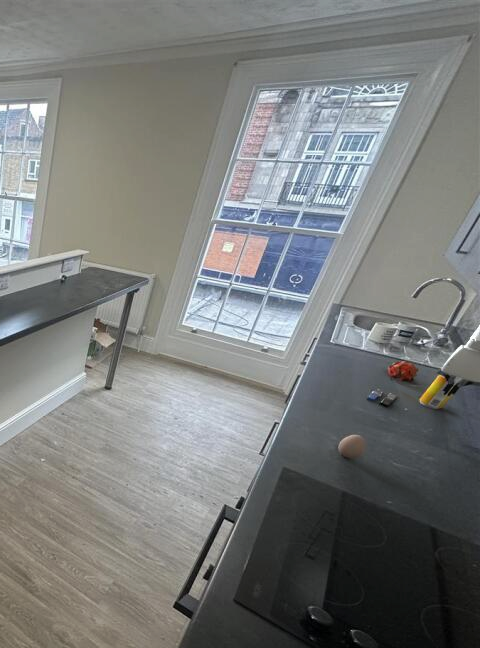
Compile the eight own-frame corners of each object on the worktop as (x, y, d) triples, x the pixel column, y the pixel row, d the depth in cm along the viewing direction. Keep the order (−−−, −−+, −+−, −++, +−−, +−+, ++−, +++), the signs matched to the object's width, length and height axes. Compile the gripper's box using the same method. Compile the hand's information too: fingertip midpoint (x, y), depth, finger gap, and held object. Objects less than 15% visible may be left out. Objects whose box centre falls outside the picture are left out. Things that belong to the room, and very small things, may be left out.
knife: (386, 407, 144) (388, 405, 143) (379, 404, 145) (380, 402, 145) (397, 396, 152) (398, 394, 152) (389, 393, 154) (391, 391, 153)
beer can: (436, 404, 150) (465, 369, 142) (443, 411, 145) (473, 376, 137) (415, 398, 152) (442, 364, 144) (421, 405, 147) (450, 370, 140)
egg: (357, 457, 115) (373, 437, 111) (355, 465, 112) (371, 444, 108) (335, 447, 118) (349, 428, 115) (332, 455, 115) (346, 434, 111)
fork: (374, 402, 147) (375, 399, 146) (365, 398, 148) (366, 396, 148) (384, 392, 154) (385, 390, 154) (375, 389, 156) (376, 387, 156)
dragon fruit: (399, 379, 170) (391, 390, 164) (385, 363, 172) (376, 372, 166) (425, 371, 163) (418, 382, 157) (410, 354, 164) (402, 364, 159)
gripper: (519, 352, 127) (479, 401, 136) (453, 336, 138) (419, 382, 147) (517, 357, 123) (476, 407, 132) (449, 340, 134) (415, 387, 143)
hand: (446, 394), depth 139 cm, fingers closed
